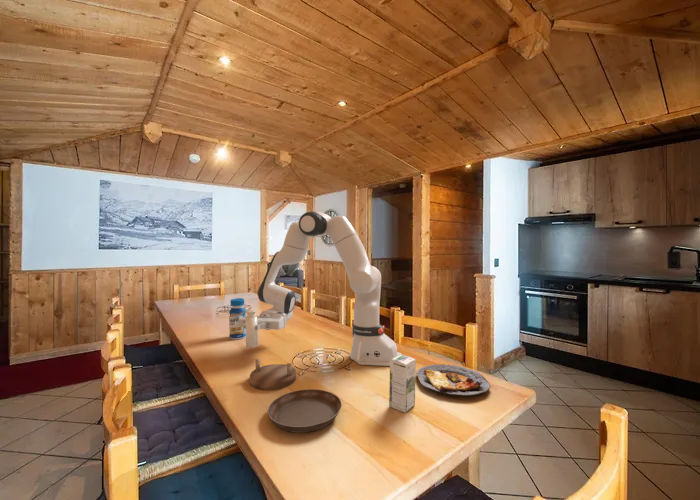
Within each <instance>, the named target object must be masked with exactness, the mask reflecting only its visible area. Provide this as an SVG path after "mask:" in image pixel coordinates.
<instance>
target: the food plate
mask: <svg viewBox="0 0 700 500" xmlns="http://www.w3.org/2000/svg"><path fill="white" fill-rule="evenodd" d="M443 374H445V375H446V376H447V378H448V379H447V378H446V377H445V376H444V375H443ZM415 375H416V376H417V378H418V381H419V383H420V385H422V386H423V387H424V388H426V389H427V390H431V391H433V392H436V393H439V394H444V395H447V396H464V397H465V396H466V397H473V396H478V395H481V394H485V393H487V392H488V391H490V388H491V383H490V382H489V380H487V379H486V378H485V377H484V376H483V374H481V373H480V372H478V371H476V370H475V369H474V370H473V369H471V368H466V367H463V366H460V365H453V364H444V363H443V364H430V365H425V366H422V367H420V368H418V369H417V371H415ZM459 376H462V377H465V378H466V379H462V378H460V377H459Z"/></svg>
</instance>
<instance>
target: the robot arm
mask: <svg viewBox="0 0 700 500" xmlns="http://www.w3.org/2000/svg"><path fill="white" fill-rule="evenodd" d="M327 236H328V237H329V238H330V239H331V242H332V244H333V245H334V248H335V249H336V251H337V253H338V255H339V257H340V259H341V262H342V264H343V266H344V269H345V273H346V275H347V278H348V281H349V287H350V288H351V290H352V292H355V298H354V303H353V324H352V328H351V329H352V330H351V334H352V337H353V338H352V344H351V350H350V354H349V357H350V359H351V360H352V361H354V362H356V363H357V364H358V365H362V366H363V365H364V366H381V367H382V366H384V367H390V360H391V359H393V358H395V357H397V356H399V355H403V354H402V353H401V352H398V346H397V343H396V342H395V340H393V339H392V338H391V337H390V336H388V335H387V334H385V325H383V324H382V325H381V323H380V304H381V302H380V301H381V291H382V290H381V289H382V274H381V271H380V269H378V268H377V267H375V266H374V265H371V262H370V260H369V258H368V254H367V252H366V248H365V247H364V245H363V243H362V241H361V238H360V237H359V235H358V233H357V231H356V229H355V227H354V226H353V225H352V224H351V222H350V221H349V220H348V219H347V217H346V216H344V215H336V216H332V215H331V214H329V213H326V212H321V211H312V210H311V211H307V212H305V213H303V214H301V216H300V217H299V220H298V221H295V222H292V223H291V224H290V225H289V227H288V229H287V232H286V234H285V238H284V241H283V245H282V247H281V249H280V250H278V251H276V252H275V254H274V255H273V256H272V258H271V260H270V263H269V265H268V268H267V270H266V272H265V274H264V277H263V280H262V282H261V283H260V285H259V287H258V289H257V297H258V300H259V301H260V302H262V303H265V304H269V305H271V306H273V307H270V308H269V309H265V310H262V311H261V312H260V314H259V315H256V316H257V325H255V329H256V330H257V331H259V330H262V329H263V330H266V331H267V330H268V331H270V330H274V331H276V330H277V331H279V330H281V329H285V328H286V327H287V322H288V321H289V320H290V319H291V318H292V316H293V314H294V308H295V306H296V301H297V297H296V294H295V292H294V291H293V289H292V290H291V289H289V288H286V287H284V286H281V285H278V284H276V282H275V281H276V278H277V276H278V273H279V272H280V269H281V267H283V266H286V265H287V266H289V265H296V264H297V265H298V264H299V263H301V262H302V261H304V259H305V258H306V256H307V252H308V248H309V244H310V241H311V239H312V238H313V237H318V238H319V237H327ZM246 317H247V315H246ZM246 317H242V318H239V320H238V324H239V327H243V329H246V320H245V318H246Z"/></svg>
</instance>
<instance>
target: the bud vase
mask: <svg viewBox="0 0 700 500" xmlns="http://www.w3.org/2000/svg"><path fill="white" fill-rule="evenodd" d="M256 313H257V310H256V309H249V310H246V313H245V314H247V315H246V316H247V317H246V318H245V320H246V337H245V346H246V348H247V349H253V348H257V347H259V337H258V336H259V335H258V334H259V333H258V332H259V330H256V329H255V325H257V316H258V315H256Z"/></svg>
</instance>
